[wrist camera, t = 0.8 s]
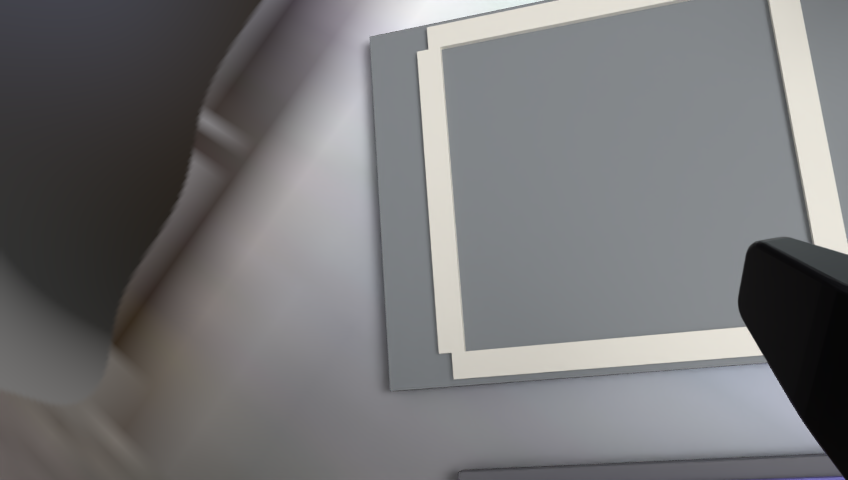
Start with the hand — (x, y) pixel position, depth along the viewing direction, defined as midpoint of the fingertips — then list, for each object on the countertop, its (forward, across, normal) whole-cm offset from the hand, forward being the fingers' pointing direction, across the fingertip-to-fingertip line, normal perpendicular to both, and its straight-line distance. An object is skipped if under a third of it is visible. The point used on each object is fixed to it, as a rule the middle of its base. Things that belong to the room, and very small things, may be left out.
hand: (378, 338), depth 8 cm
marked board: (+13, -9, +5) cm, 16 cm away
